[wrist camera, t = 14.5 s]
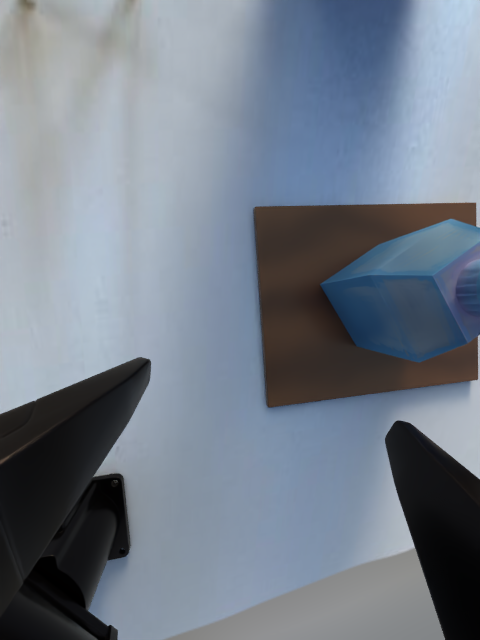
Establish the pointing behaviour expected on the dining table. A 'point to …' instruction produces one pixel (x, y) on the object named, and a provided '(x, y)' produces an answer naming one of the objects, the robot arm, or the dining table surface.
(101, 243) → the dining table surface
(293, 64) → the dining table surface
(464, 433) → the dining table surface
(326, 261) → the walnut board
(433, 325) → the perfume bottle
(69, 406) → the robot arm
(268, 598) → the dining table surface
